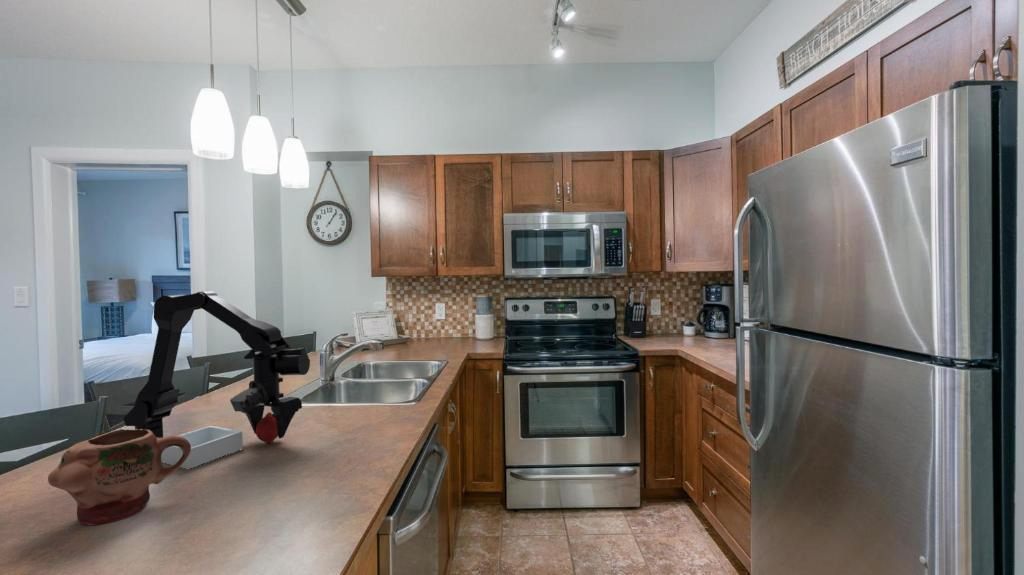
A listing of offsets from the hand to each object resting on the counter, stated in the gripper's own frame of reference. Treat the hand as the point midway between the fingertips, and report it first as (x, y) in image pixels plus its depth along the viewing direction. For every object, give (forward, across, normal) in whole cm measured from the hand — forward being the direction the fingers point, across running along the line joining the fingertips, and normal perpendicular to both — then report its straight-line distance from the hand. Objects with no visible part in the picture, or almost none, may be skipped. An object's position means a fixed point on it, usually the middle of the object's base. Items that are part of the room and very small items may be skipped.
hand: (268, 435), depth 115 cm
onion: (+2, 0, 0) cm, 2 cm away
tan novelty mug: (+2, +5, -33) cm, 33 cm away
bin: (+2, -9, -12) cm, 15 cm away
